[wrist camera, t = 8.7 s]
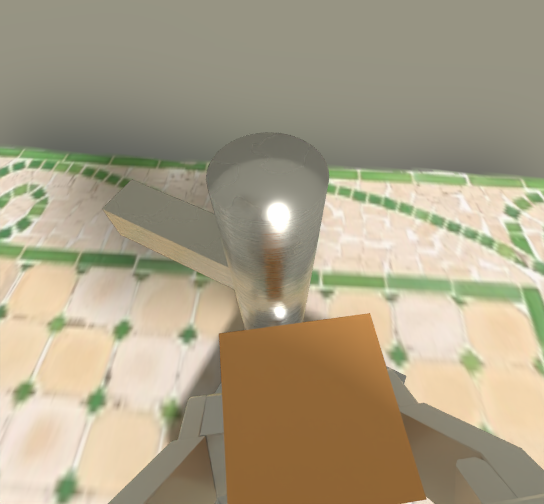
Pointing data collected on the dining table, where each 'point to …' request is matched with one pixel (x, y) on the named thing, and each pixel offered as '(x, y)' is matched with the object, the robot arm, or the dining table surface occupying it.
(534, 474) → the robot arm
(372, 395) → the orange rectangular block
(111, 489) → the dining table surface
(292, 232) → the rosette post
